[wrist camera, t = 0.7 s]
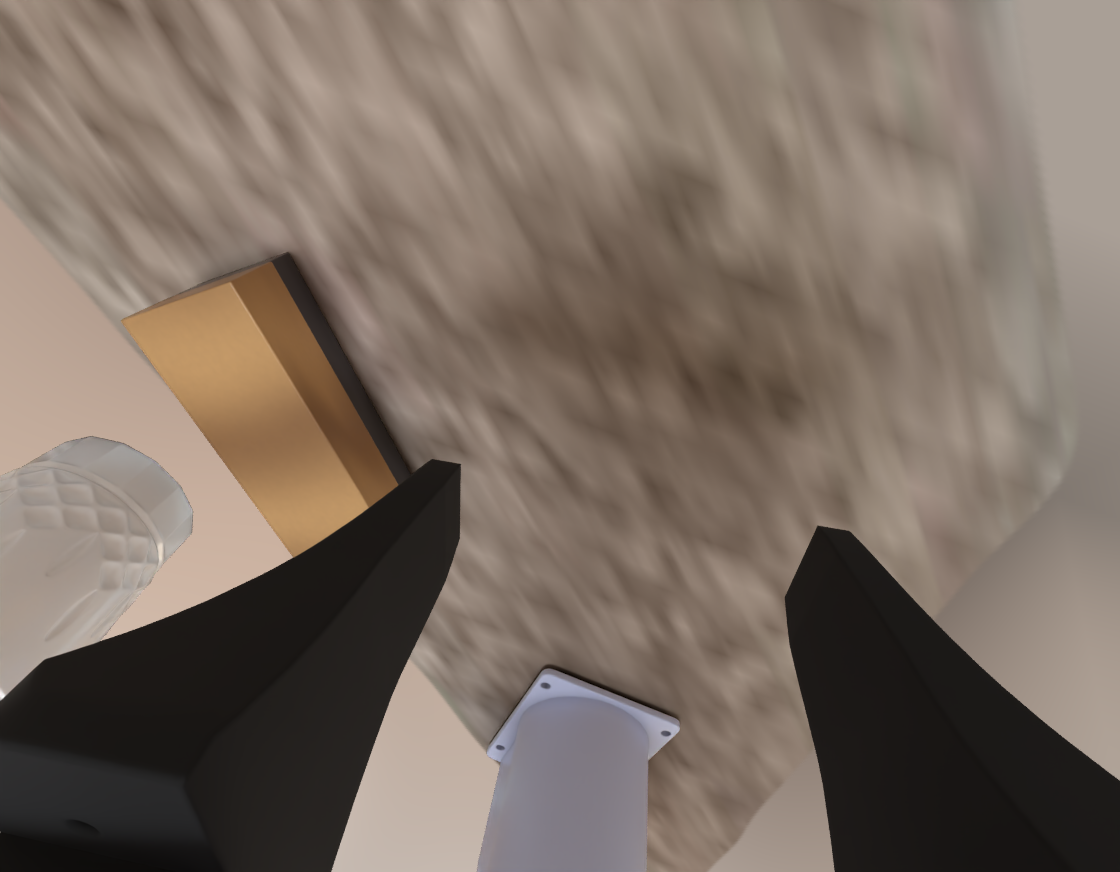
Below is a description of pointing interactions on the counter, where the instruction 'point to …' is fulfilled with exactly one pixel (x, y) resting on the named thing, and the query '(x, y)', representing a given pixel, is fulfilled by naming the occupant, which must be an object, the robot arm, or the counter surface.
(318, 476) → the scrub brush
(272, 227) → the counter surface
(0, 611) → the white cup
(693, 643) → the counter surface
